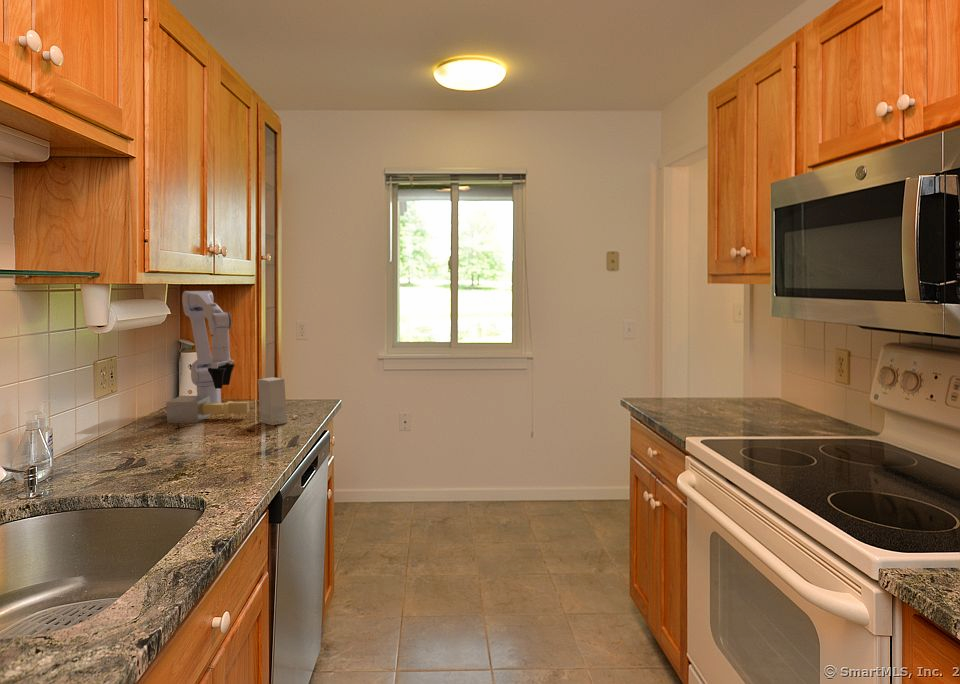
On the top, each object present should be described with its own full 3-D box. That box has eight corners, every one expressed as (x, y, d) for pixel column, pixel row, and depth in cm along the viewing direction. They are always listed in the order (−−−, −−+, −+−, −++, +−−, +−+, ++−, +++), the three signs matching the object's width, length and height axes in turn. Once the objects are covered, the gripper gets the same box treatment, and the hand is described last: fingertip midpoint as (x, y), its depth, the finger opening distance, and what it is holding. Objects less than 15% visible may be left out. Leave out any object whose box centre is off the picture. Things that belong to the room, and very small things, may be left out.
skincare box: (287, 423, 216) (286, 378, 215) (270, 426, 212) (268, 380, 211) (275, 419, 222) (274, 376, 221) (258, 422, 218) (257, 378, 217)
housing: (181, 415, 229) (180, 395, 228) (210, 415, 230) (210, 395, 229) (167, 423, 217) (166, 402, 217) (198, 422, 218) (197, 401, 217)
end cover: (206, 415, 227) (205, 401, 226) (251, 414, 228) (250, 400, 227) (200, 419, 221) (199, 404, 220) (246, 418, 222) (245, 403, 221)
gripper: (225, 349, 219) (227, 389, 220) (239, 345, 233) (240, 383, 234) (204, 349, 218) (205, 390, 220) (218, 345, 233) (220, 383, 234)
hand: (222, 386), depth 227 cm, fingers open, 7 cm apart
